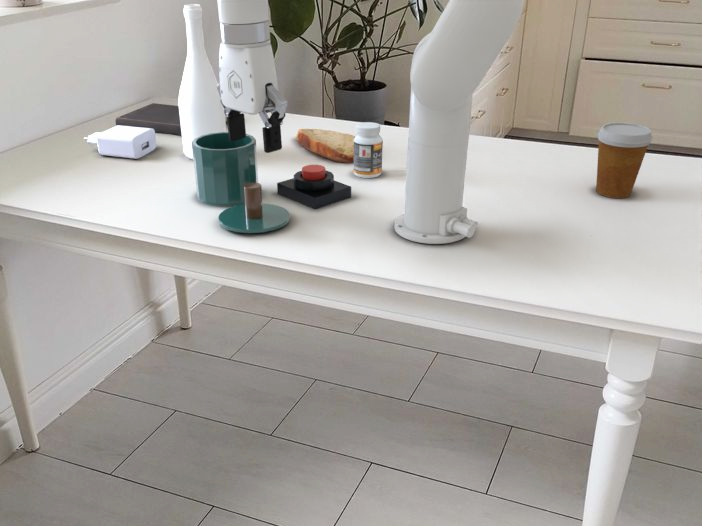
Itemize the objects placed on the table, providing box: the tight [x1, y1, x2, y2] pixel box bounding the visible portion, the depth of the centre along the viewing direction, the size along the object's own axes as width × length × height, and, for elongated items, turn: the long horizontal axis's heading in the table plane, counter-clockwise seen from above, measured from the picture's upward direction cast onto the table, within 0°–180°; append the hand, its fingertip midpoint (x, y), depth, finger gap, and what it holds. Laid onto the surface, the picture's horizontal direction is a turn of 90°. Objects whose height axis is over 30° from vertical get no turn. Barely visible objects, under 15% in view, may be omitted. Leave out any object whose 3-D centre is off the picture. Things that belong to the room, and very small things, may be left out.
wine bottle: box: [177, 3, 227, 161], centre depth 156 cm, size 10×10×30 cm
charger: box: [83, 125, 157, 160], centre depth 166 cm, size 5×9×15 cm
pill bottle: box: [353, 121, 384, 179], centre depth 150 cm, size 6×6×10 cm
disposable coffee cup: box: [595, 122, 654, 199], centre depth 139 cm, size 10×10×12 cm
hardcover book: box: [115, 102, 228, 136], centre depth 184 cm, size 16×23×2 cm
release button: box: [301, 164, 326, 180], centre depth 140 cm, size 4×4×2 cm
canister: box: [192, 131, 259, 208], centre depth 140 cm, size 11×11×10 cm
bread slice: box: [295, 128, 357, 164], centre depth 166 cm, size 18×18×4 cm
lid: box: [217, 182, 291, 234], centre depth 129 cm, size 12×12×7 cm
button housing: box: [276, 169, 352, 210], centre depth 141 cm, size 11×9×4 cm
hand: (255, 144), depth 124 cm, fingers open, 9 cm apart
